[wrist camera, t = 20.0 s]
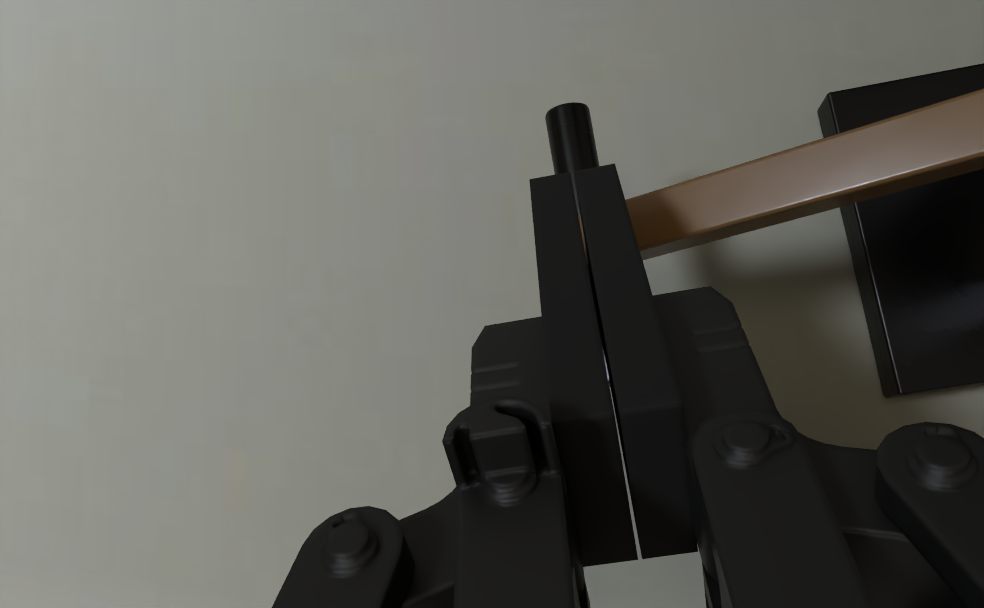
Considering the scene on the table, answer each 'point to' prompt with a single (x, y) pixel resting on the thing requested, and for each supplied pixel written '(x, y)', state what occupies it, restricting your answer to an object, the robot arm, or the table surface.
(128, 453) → the table surface
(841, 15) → the table surface
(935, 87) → the bracket
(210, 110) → the table surface
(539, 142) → the table surface
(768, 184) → the door lever
